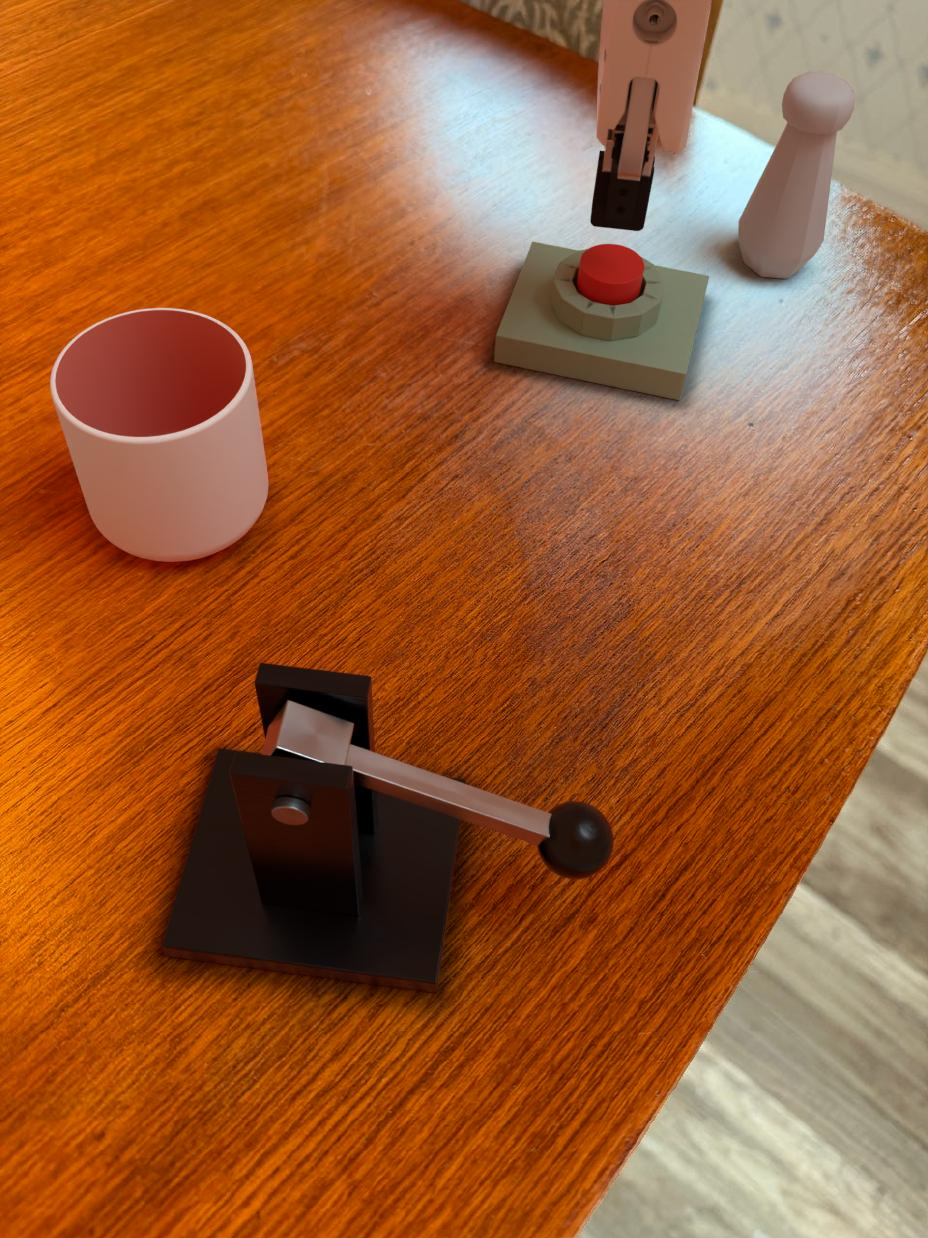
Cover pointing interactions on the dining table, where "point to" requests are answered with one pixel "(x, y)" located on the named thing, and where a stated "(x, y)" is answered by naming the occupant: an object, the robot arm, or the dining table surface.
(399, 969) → the bracket
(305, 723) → the lever
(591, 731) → the dining table surface
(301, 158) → the dining table surface
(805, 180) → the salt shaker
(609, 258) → the button
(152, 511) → the cup
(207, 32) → the dining table surface
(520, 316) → the button box
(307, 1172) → the dining table surface
